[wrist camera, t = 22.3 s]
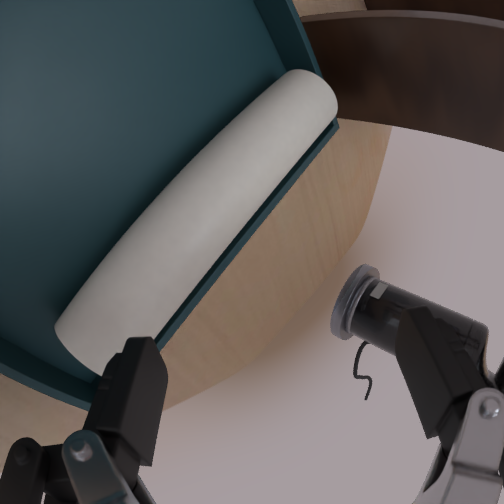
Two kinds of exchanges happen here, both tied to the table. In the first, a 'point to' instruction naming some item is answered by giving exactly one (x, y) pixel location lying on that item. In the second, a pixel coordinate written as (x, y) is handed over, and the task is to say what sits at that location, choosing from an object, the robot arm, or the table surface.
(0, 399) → the table surface
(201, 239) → the paper roll
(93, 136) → the tray
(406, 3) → the stand
